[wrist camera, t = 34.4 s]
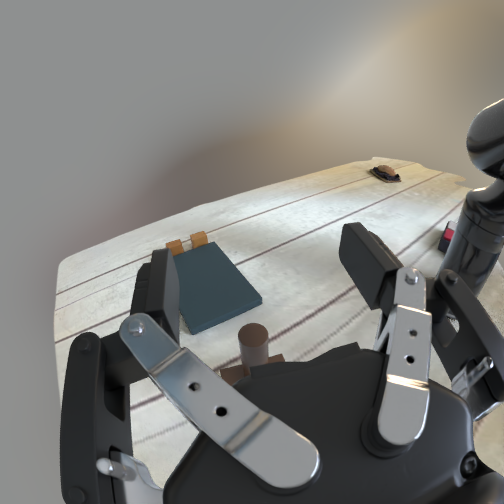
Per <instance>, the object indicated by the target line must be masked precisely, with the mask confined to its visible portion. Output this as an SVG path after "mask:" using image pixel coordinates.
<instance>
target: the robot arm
mask: <svg viewBox="0 0 504 504" xmlns="http://www.w3.org/2000/svg"><path fill="white" fill-rule="evenodd" d="M466 144H467V151H468V155H469V158H470V160H471V161H472V163H473V164H474V166H475V167H476V168H477V169H479V170H480V171H481V172H483V173H484V174H486V175H489V176H491V177H494V178H497V179H496V181H495V182H494V183H493V184H491V185H489V186H487V187H484V188H479V189H473V190H470V191H469V192H468V193H467V195H466V197H465V200H464V204H463V207H462V210H461V213H460V216H459V219H458V222H457V225H456V228H455V231H454V234H453V236H452V239H451V242H450V244H449V247H448V249H447V252H446V254H445V257H444V259H443V262H442V264H441V266H440V268H439V271H438V273H437V275H436V277H435V278H425V277H424V276H423V274H422V273H421V272H420V271H418V270H417V269H414V268H412V267H404V266H403V264H402V263H401V262H400V261H399V260H398V258H397V257H396V256H395V255H394V254H393V252H392V251H391V250H389V248H388V247H387V246H386V244H384V242H383V241H382V240H381V239H380V238H379V237H378V236H377V235H375V234H374V233H372V232H371V231H367V229H366V228H365V227H364V226H363V225H362V224H361V223H360V222H356V223H348V224H344V226H343V229H342V235H341V241H340V247H339V258H340V261H341V263H342V264H343V266H344V268H345V269H346V271H347V272H348V274H349V275H350V277H351V278H352V280H353V282H354V283H355V285H356V286H357V288H358V290H359V291H360V293H361V294H362V296H363V298H364V299H365V301H366V302H367V304H368V306H369V307H370V309H371V310H375V309H378V308H381V310H382V312H381V314H380V319H379V324H378V329H377V334H376V338H375V343H374V347H373V350H370V349H360V347H359V345H358V343H357V342H354V343H351V344H347V345H344V346H340V347H337V348H333V349H331V350H329V351H328V352H326V353H324V354H322V355H320V356H318V357H316V358H314V359H313V360H311V361H307V362H273V363H268V364H263V365H258V366H252V367H249V369H250V375H248V376H246V377H244V378H242V379H240V380H238V381H237V382H236V383H234V384H233V385H232V386H230V385H229V384H228V383H226V382H225V381H224V380H223V379H222V378H221V377H219V376H218V375H217V374H216V373H215V372H214V371H212V370H211V369H210V368H209V367H208V366H207V365H206V364H205V363H203V362H202V361H201V360H200V359H199V358H198V357H197V356H196V355H195V354H194V353H192V352H191V351H190V350H189V349H188V348H186V347H184V348H181V347H180V343H179V291H180V287H179V278H178V274H177V270H176V267H175V263H174V260H173V256H172V252H171V250H170V248H166V249H159V250H154V251H153V253H152V259H151V262H150V263H144V264H143V265H142V266H141V268H140V269H139V271H138V273H137V278H136V283H135V290H134V293H133V299H132V305H131V311H130V316H129V317H127V318H126V319H125V320H124V321H123V322H122V323H121V325H120V328H119V331H117V332H115V333H113V334H110V335H108V336H105V337H103V338H99V337H98V336H97V335H96V334H95V333H93V332H85V333H82V334H80V335H79V336H77V337H76V338H75V339H74V340H73V342H72V344H71V346H70V351H69V357H68V362H67V369H66V375H65V383H64V391H63V400H62V411H61V428H60V476H61V489H62V496H63V499H64V501H65V503H66V504H504V477H503V476H502V475H500V474H499V473H497V472H496V471H494V470H492V469H491V468H489V467H488V466H487V465H485V464H484V463H483V462H482V461H481V460H480V459H479V458H478V456H477V454H476V452H475V448H474V441H473V422H474V421H479V420H481V419H482V418H483V417H485V416H486V415H488V414H489V413H491V412H492V411H493V410H495V409H496V408H497V407H499V406H500V405H501V404H503V403H504V338H503V336H502V335H501V333H500V331H499V330H498V328H497V327H496V325H495V324H494V322H493V321H492V319H491V318H490V316H489V315H488V313H487V312H486V310H485V309H484V308H483V306H482V305H481V303H480V302H479V301H478V299H477V297H478V295H479V293H480V291H481V290H482V288H483V286H484V284H485V283H486V281H487V279H488V277H489V275H490V273H491V271H492V269H493V268H494V266H495V264H496V262H497V260H498V257H499V255H500V253H501V251H502V248H503V246H504V99H503V100H501V101H499V102H497V103H495V104H493V105H491V106H489V107H487V108H485V109H483V110H482V111H480V112H479V113H478V114H477V116H476V117H475V118H474V120H473V121H472V123H471V125H470V127H469V130H468V134H467V141H466ZM447 317H449V318H453V319H457V320H458V322H459V331H458V333H457V332H456V330H455V329H454V327H453V325H452V324H451V322H450V321H449V319H448V318H447ZM431 343H432V345H433V347H434V349H435V351H436V352H437V354H438V356H439V358H440V360H441V362H442V364H443V366H444V368H445V370H446V372H447V374H448V376H449V378H450V380H451V382H452V384H451V387H452V390H449V389H448V388H446V387H444V386H442V385H440V384H438V383H437V382H435V381H433V380H431V379H429V378H428V377H429V367H430V354H431ZM147 377H149V378H150V379H151V380H152V382H153V383H154V384H155V385H156V386H157V388H158V389H159V390H160V391H161V392H162V393H163V394H164V395H165V397H166V398H167V399H168V400H169V401H170V402H171V403H172V404H173V405H174V406H175V408H176V409H177V410H178V411H179V412H180V413H181V414H182V415H183V416H184V417H185V418H186V419H187V420H188V421H189V422H190V423H191V424H192V425H193V426H194V427H195V428H196V429H197V430H198V431H199V434H198V435H197V437H196V438H195V440H194V441H193V443H192V444H191V446H190V447H189V449H188V450H187V452H186V453H185V455H184V456H183V458H182V459H181V461H180V462H179V464H178V465H177V466H176V468H175V469H174V471H173V472H172V474H171V475H170V477H169V478H168V480H167V481H166V483H165V486H164V489H162V488H160V487H159V486H157V485H156V484H155V483H154V481H153V480H152V478H151V476H150V472H149V470H148V468H147V467H146V465H145V464H144V463H143V462H141V461H140V460H138V459H136V458H134V457H133V448H132V436H131V419H130V384H131V383H134V382H137V381H139V380H142V379H145V378H147Z"/></svg>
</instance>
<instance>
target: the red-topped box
mask: <svg viewBox="0 0 504 504" xmlns="http://www.w3.org/2000/svg"><path fill="white" fill-rule="evenodd" d="M456 225H457V223H455V222H453V221H450V222H448V223H447V226H446V228H445V230H444V233H443V235H442V237H441V240H440V243H439V246H438V249H439V250H441V251H443V252H445V253H446V252H447V249H448V247H449V244H450V242H451V239H452V236H453V234H454V231H455V228H456Z"/></svg>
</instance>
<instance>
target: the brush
mask: <svg viewBox="0 0 504 504" xmlns="http://www.w3.org/2000/svg"><path fill="white" fill-rule="evenodd" d="M238 339H239V346H240V352H241V359H242V365H238V366H234V367H230V368H225V369H221V370H220V373H221V377H222V379H223V380H224V381H225V382H226V383H228V384H229V385H230V386H232V385H233V384H234V383H236V382H237V381H238V380H240V379H242V378H244V377H246V376H248V375H250V369H249V367H252V366H258V365H263V364H268V363H273V362H285V360H284V357H283V355H282V354H279V355H275V356H272V357H268V331H267V329H266V328H265V327H264V326H262V325H260V324H257V323H250V324H247V325H245V326H243V327H242V328H241V329H240V331H239V333H238Z"/></svg>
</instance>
